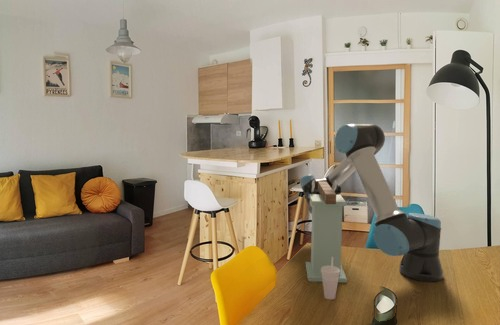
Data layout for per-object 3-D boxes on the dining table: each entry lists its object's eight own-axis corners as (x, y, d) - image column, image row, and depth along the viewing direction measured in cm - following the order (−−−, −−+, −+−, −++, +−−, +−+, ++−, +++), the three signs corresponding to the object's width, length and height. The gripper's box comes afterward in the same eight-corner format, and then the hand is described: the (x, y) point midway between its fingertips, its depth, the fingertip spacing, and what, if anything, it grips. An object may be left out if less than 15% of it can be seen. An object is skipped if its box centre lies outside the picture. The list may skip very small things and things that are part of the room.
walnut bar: (317, 189, 145) (317, 181, 145) (326, 189, 145) (326, 181, 145) (325, 204, 120) (325, 194, 119) (335, 204, 119) (336, 194, 119)
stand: (305, 265, 140) (306, 193, 137) (340, 266, 139) (342, 194, 136) (308, 281, 127) (309, 201, 123) (346, 282, 125) (349, 202, 122)
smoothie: (339, 302, 112) (341, 261, 110) (319, 300, 113) (320, 259, 111) (338, 292, 118) (340, 253, 116) (319, 291, 119) (320, 252, 117)
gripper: (342, 208, 155) (351, 192, 134) (295, 207, 157) (298, 191, 136) (341, 192, 158) (350, 174, 137) (295, 191, 160) (298, 174, 139)
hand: (324, 183), depth 137 cm, fingers open, 8 cm apart
